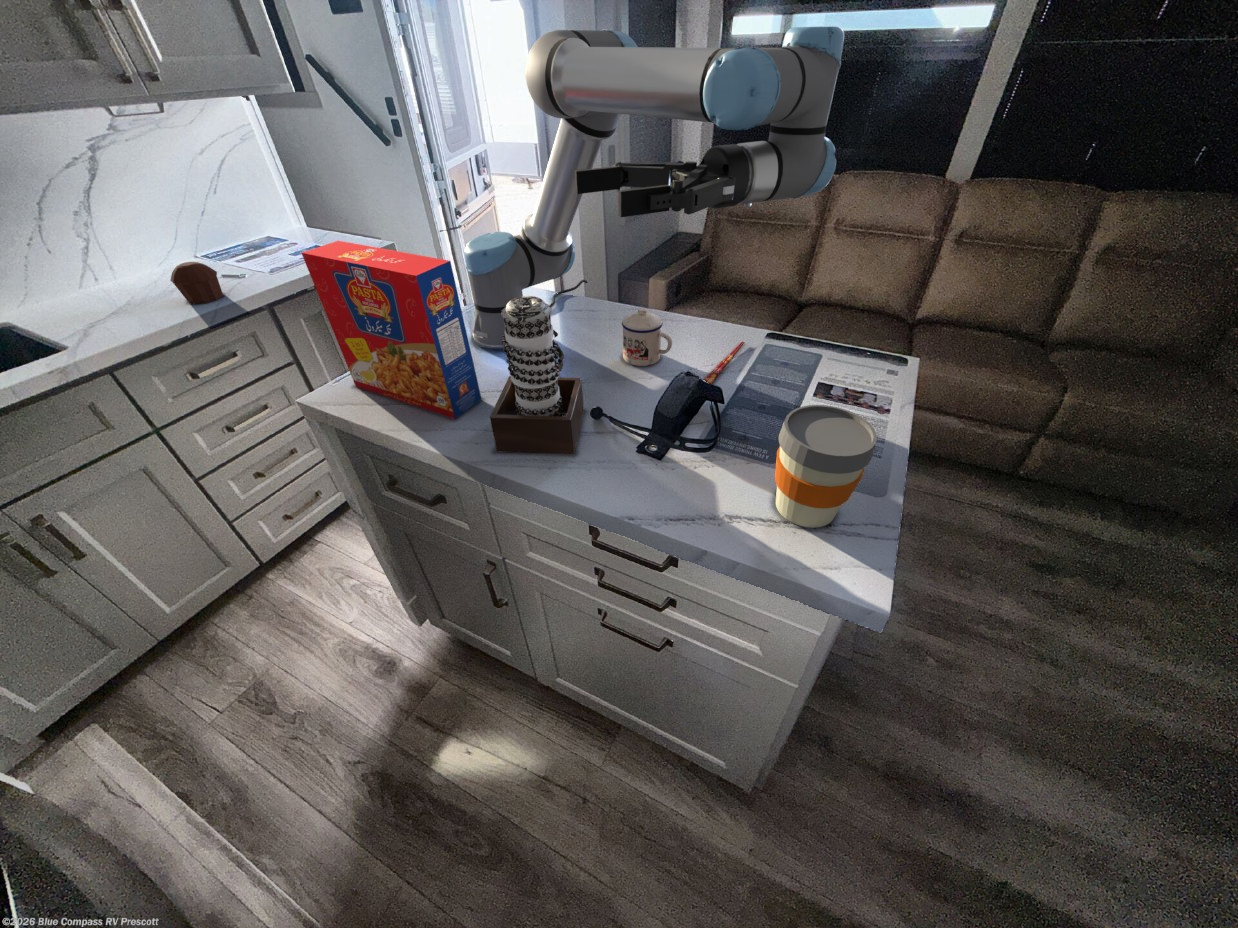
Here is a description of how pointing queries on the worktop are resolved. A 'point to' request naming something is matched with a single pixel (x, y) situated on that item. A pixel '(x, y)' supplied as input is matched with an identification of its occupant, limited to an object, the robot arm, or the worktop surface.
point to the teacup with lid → (643, 338)
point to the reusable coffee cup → (820, 462)
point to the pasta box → (397, 324)
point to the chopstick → (722, 365)
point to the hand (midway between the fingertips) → (595, 192)
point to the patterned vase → (532, 356)
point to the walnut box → (538, 422)
